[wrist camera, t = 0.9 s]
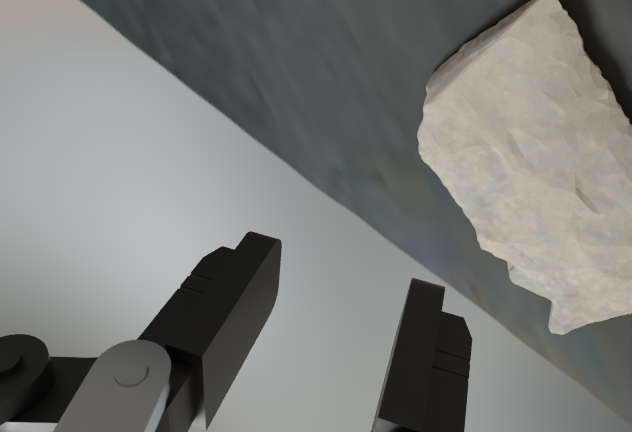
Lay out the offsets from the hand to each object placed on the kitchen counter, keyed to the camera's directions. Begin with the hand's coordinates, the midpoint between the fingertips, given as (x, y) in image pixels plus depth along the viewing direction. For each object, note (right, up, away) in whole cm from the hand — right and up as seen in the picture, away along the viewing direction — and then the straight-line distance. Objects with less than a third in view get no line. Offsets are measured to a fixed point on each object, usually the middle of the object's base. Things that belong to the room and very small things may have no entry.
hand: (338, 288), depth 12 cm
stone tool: (+17, +4, +26) cm, 31 cm away
